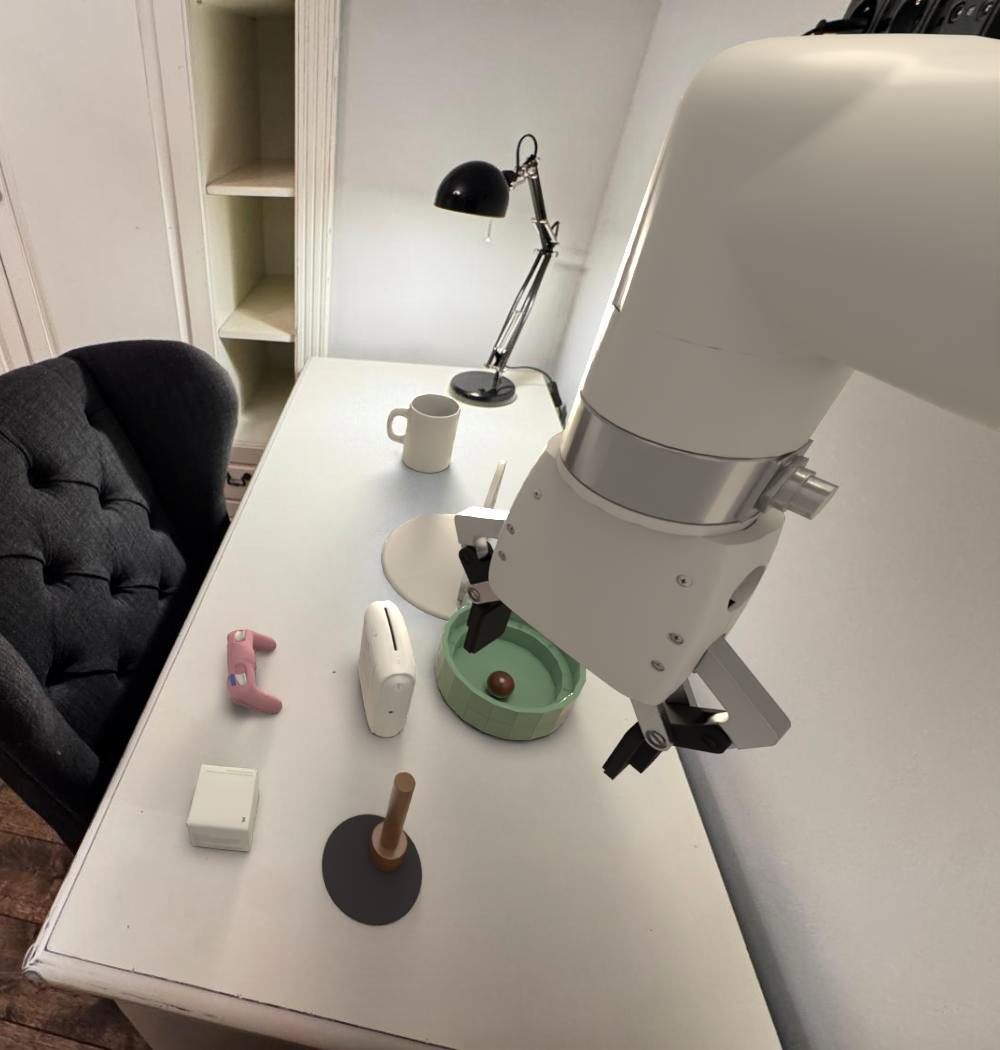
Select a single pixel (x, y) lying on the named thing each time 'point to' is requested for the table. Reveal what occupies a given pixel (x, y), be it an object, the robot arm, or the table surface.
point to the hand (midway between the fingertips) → (546, 695)
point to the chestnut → (500, 684)
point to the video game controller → (248, 670)
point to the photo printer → (386, 669)
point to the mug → (427, 431)
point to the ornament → (431, 559)
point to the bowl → (531, 661)
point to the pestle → (393, 826)
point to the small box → (224, 808)
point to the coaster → (368, 874)
